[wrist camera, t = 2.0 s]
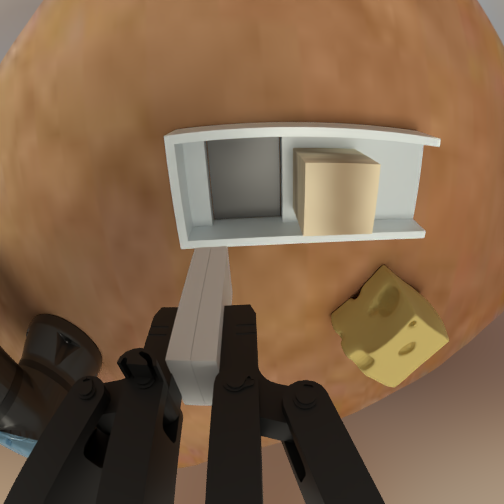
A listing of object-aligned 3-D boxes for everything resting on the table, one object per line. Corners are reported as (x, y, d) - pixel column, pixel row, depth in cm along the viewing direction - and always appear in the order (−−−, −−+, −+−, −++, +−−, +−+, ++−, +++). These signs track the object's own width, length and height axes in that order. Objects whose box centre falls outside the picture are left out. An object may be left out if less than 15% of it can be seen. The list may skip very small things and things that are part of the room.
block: (292, 207, 28) (303, 236, 23) (292, 147, 25) (305, 162, 20) (350, 206, 28) (372, 233, 23) (354, 148, 25) (380, 164, 20)
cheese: (328, 314, 38) (345, 373, 29) (384, 258, 33) (420, 311, 25) (373, 338, 41) (393, 390, 32) (423, 291, 37) (455, 340, 28)
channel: (189, 227, 31) (181, 249, 27) (176, 129, 25) (163, 136, 21) (405, 219, 31) (424, 238, 27) (417, 130, 25) (440, 139, 21)
